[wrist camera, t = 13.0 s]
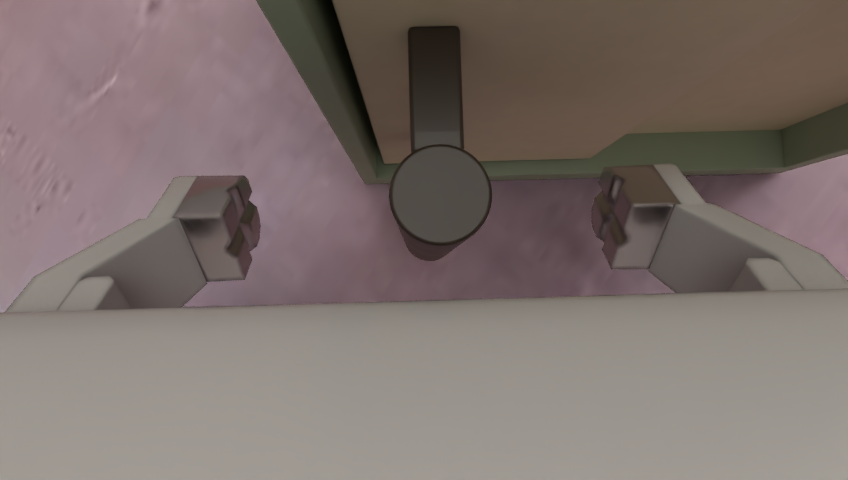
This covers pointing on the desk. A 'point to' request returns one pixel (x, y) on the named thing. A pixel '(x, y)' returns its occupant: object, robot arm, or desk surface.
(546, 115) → the door
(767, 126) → the cabinet
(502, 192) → the desk surface
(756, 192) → the desk surface
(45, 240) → the desk surface
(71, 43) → the desk surface
